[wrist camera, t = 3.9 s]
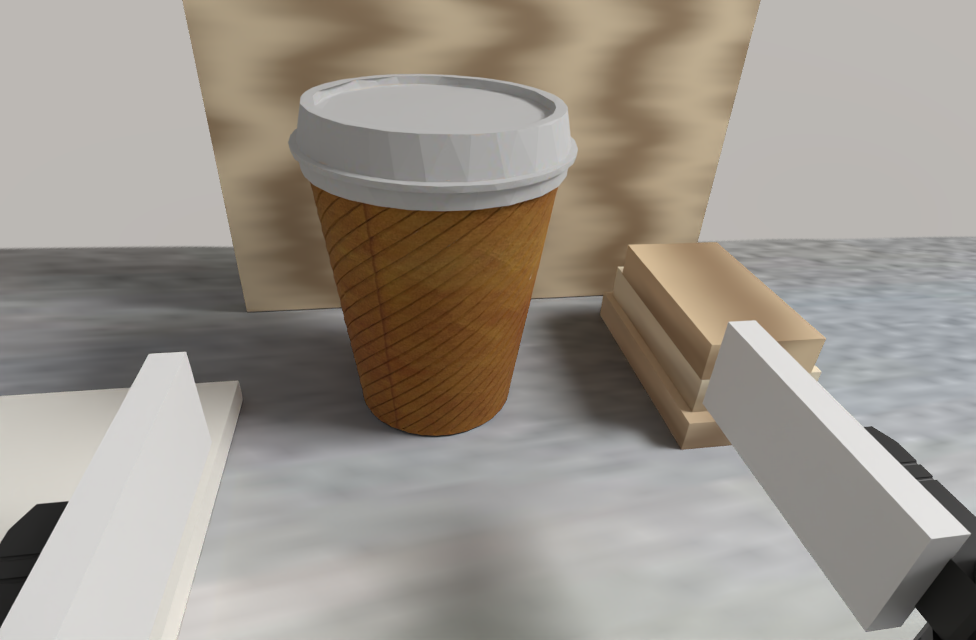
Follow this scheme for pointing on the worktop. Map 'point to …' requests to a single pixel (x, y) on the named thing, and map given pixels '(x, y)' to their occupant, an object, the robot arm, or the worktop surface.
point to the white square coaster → (70, 448)
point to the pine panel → (486, 54)
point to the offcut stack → (693, 327)
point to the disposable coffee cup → (433, 231)
